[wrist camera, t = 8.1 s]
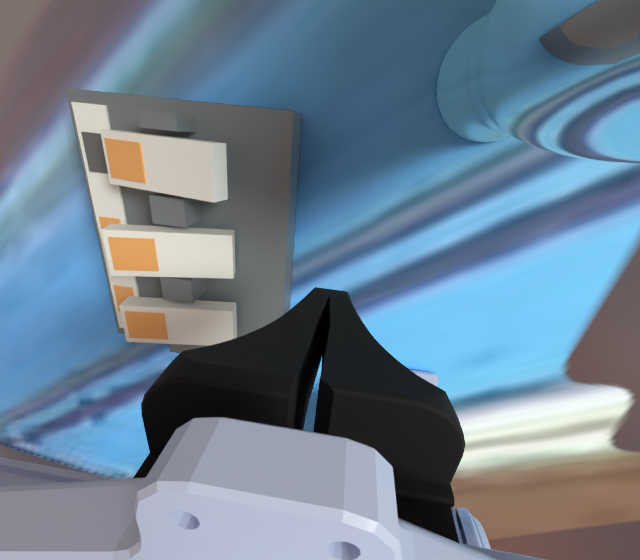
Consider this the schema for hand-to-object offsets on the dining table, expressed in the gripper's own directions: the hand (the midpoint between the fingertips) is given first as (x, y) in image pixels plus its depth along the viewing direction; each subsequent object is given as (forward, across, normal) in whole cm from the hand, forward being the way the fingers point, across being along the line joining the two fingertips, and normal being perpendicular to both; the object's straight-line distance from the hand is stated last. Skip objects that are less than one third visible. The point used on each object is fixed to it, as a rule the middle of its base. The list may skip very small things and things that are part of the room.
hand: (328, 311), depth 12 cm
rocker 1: (+6, +10, -4) cm, 12 cm away
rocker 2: (+6, +10, +6) cm, 13 cm away
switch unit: (+10, +10, +1) cm, 14 cm away
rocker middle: (+6, +10, +1) cm, 12 cm away
